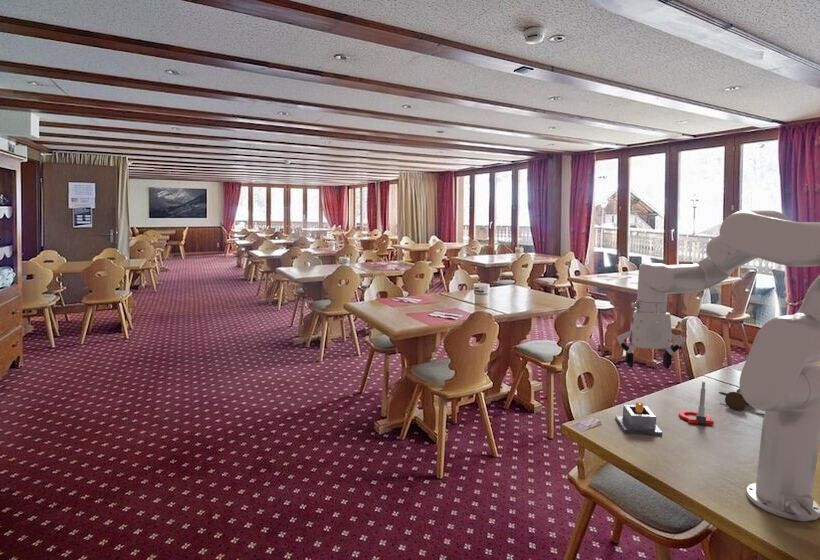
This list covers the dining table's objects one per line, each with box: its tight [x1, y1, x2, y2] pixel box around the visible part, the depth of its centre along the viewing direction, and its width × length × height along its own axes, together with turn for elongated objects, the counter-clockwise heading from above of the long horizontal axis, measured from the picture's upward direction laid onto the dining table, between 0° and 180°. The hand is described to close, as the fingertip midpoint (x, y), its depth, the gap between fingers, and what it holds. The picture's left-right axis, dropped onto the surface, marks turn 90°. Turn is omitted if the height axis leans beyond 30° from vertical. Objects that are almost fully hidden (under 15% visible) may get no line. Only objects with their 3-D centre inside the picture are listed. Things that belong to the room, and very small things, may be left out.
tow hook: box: [678, 381, 715, 426], centre depth 145 cm, size 8×13×9 cm
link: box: [622, 404, 657, 430], centre depth 140 cm, size 8×7×4 cm
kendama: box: [718, 387, 750, 412], centre depth 152 cm, size 6×10×20 cm
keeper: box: [615, 402, 663, 437], centre depth 140 cm, size 10×10×7 cm
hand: (647, 366), depth 136 cm, fingers open, 9 cm apart
